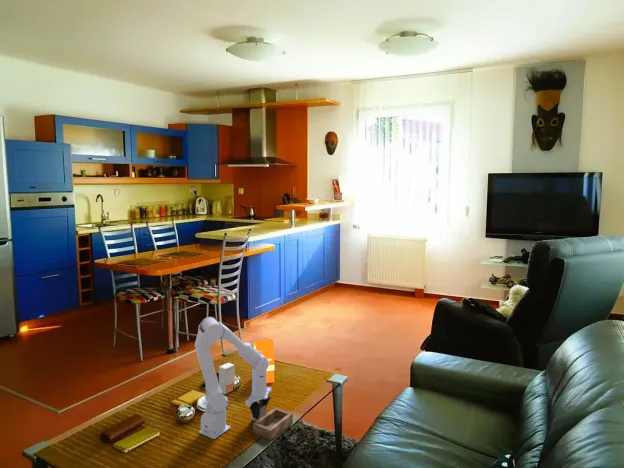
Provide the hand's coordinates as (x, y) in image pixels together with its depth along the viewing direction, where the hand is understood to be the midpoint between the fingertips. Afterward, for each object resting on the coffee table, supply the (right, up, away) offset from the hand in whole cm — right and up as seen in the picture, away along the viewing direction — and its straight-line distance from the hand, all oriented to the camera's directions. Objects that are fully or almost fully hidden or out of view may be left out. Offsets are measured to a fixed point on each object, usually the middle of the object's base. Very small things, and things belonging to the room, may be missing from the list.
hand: (259, 415), depth 189 cm
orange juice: (-2, +3, +35) cm, 35 cm away
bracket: (0, -2, 0) cm, 2 cm away
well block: (+6, -3, -6) cm, 9 cm away
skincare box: (-17, +2, +23) cm, 29 cm away
